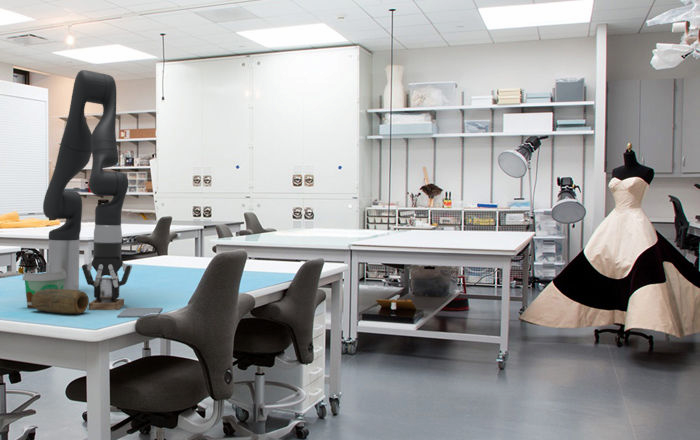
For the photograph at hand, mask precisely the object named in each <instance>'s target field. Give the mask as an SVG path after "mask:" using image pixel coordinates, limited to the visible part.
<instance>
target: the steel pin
mask: <svg viewBox="0 0 700 440" xmlns="http://www.w3.org/2000/svg"><path fill="white" fill-rule="evenodd" d="M113 287H114V284H113V280H112V278H111V276H108V277H103V278H101V279H100V282H99V303H114V300H113Z"/></svg>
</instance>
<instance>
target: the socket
mask: <svg viewBox="0 0 700 440" xmlns="http://www.w3.org/2000/svg"><path fill="white" fill-rule="evenodd" d="M124 306H125V299H124V298H117V299H116V300H114V303H99V300H96V298H94V299H93V300H92V301H89V304H88V310H89V311H91V310H92V311H94V310H95V311H97V310H98V311H99V310H100V311H102V310H103V311H106V310H108V311H115V310H116V311H119V310H120V309H121V308H123V307H124Z"/></svg>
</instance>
